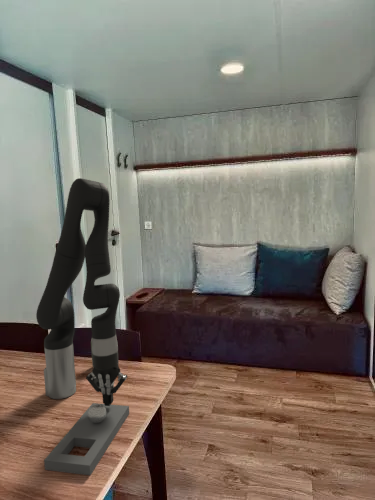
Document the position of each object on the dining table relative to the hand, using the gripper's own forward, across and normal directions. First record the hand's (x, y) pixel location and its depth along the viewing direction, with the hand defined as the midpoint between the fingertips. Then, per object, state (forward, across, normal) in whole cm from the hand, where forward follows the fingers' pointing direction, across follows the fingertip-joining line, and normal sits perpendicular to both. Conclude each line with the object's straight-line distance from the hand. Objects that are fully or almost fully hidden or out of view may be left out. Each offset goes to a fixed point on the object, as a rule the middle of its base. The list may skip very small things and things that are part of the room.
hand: (108, 404), depth 109 cm
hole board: (+4, 0, -11) cm, 12 cm away
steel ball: (-2, 0, -7) cm, 7 cm away
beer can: (+4, -18, +32) cm, 37 cm away
